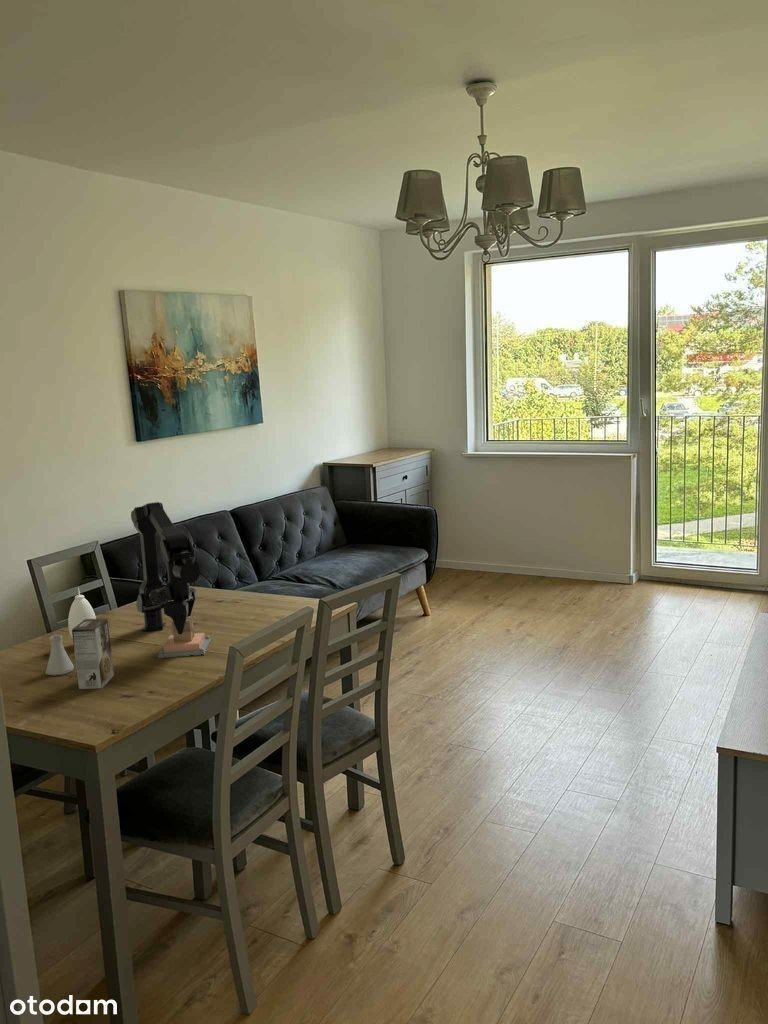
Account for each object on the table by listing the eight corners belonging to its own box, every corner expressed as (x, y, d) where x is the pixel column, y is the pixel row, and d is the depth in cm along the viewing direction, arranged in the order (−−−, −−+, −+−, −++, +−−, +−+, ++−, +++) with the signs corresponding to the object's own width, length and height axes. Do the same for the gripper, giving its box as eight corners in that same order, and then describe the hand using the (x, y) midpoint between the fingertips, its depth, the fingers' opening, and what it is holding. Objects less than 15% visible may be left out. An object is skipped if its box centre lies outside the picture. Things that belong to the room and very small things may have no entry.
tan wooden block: (177, 637, 240) (175, 617, 239) (194, 635, 240) (192, 616, 239) (174, 642, 235) (172, 622, 234) (191, 641, 235) (189, 621, 234)
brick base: (167, 643, 244) (166, 633, 244) (211, 640, 245) (210, 630, 244) (158, 658, 231) (157, 647, 231) (204, 654, 232) (203, 644, 232)
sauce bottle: (87, 649, 242) (80, 590, 240) (65, 648, 245) (58, 590, 242) (104, 641, 250) (97, 584, 247) (83, 640, 252) (76, 583, 249)
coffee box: (91, 676, 219) (84, 618, 217) (115, 675, 219) (108, 617, 216) (77, 689, 210) (70, 629, 208) (102, 688, 210) (95, 628, 207)
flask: (64, 676, 220) (60, 641, 219) (40, 676, 222) (36, 640, 220) (79, 667, 227) (75, 632, 226) (55, 666, 229) (51, 632, 227)
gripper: (156, 571, 243) (161, 621, 246) (142, 586, 225) (148, 641, 228) (194, 568, 244) (199, 619, 247) (183, 584, 226) (188, 638, 228)
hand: (183, 629), depth 237 cm, fingers open, 9 cm apart
